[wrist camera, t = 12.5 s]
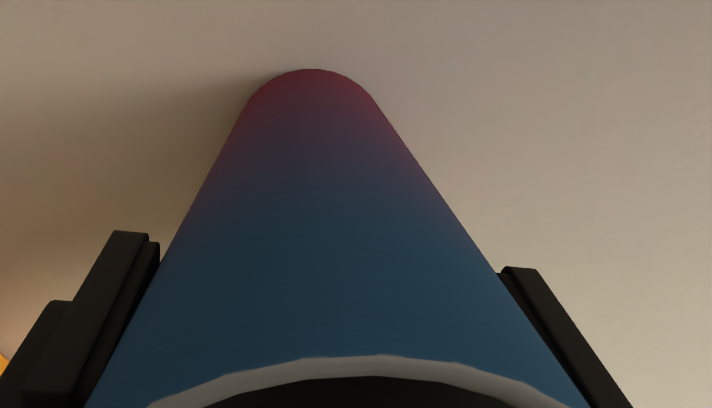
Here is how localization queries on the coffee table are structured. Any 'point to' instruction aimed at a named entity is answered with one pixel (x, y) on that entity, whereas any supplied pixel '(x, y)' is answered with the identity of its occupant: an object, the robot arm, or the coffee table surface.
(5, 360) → the mottled yellow carton
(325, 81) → the cup
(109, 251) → the robot arm
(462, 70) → the coffee table surface
